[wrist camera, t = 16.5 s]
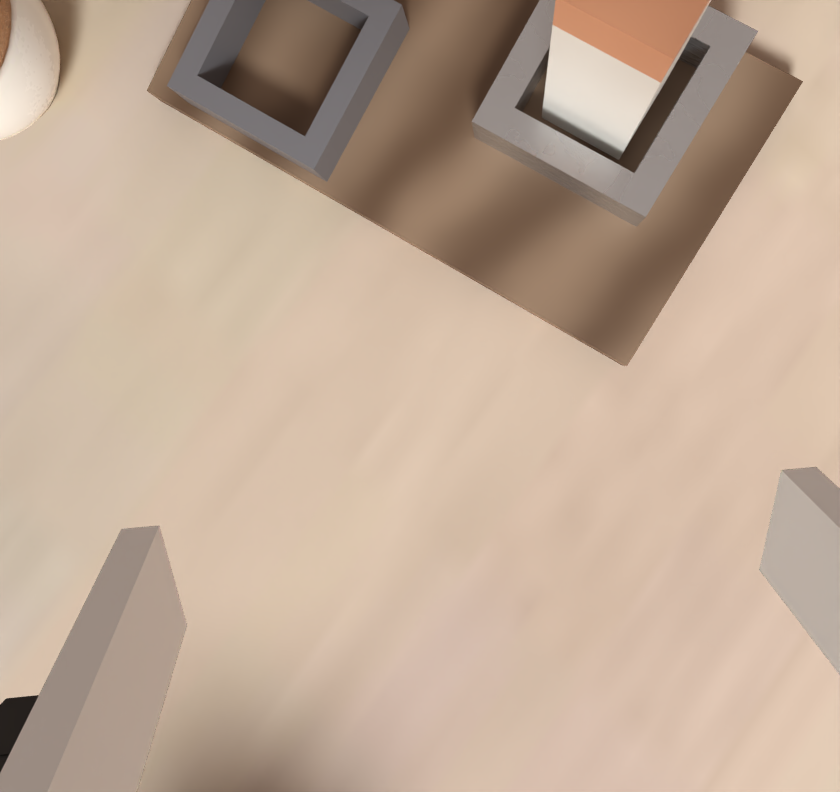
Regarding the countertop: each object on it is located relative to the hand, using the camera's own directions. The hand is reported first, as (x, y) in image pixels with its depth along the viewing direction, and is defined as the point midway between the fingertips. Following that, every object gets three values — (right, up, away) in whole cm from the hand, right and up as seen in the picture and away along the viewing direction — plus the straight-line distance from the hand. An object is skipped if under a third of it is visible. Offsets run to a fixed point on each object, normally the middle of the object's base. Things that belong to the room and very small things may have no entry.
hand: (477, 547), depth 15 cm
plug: (+8, +18, +20) cm, 28 cm away
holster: (-8, +21, +22) cm, 31 cm away
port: (+8, +18, +20) cm, 28 cm away
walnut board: (+1, +19, +22) cm, 30 cm away
